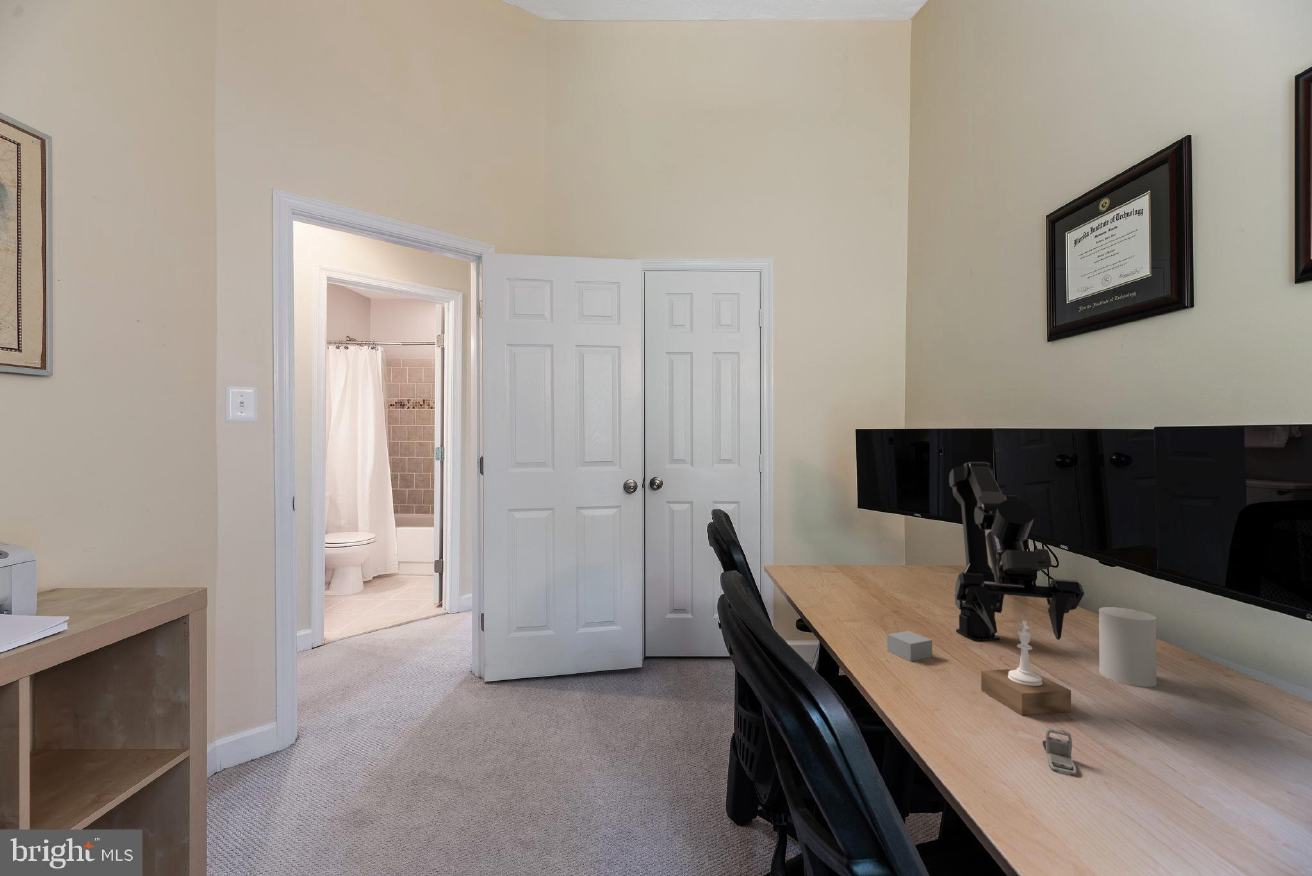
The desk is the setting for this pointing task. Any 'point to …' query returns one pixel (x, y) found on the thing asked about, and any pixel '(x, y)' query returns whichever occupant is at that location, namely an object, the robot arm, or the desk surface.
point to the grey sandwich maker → (1059, 753)
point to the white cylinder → (1127, 646)
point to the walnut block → (1026, 694)
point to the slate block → (909, 645)
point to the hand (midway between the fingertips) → (1026, 635)
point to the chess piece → (1024, 661)
